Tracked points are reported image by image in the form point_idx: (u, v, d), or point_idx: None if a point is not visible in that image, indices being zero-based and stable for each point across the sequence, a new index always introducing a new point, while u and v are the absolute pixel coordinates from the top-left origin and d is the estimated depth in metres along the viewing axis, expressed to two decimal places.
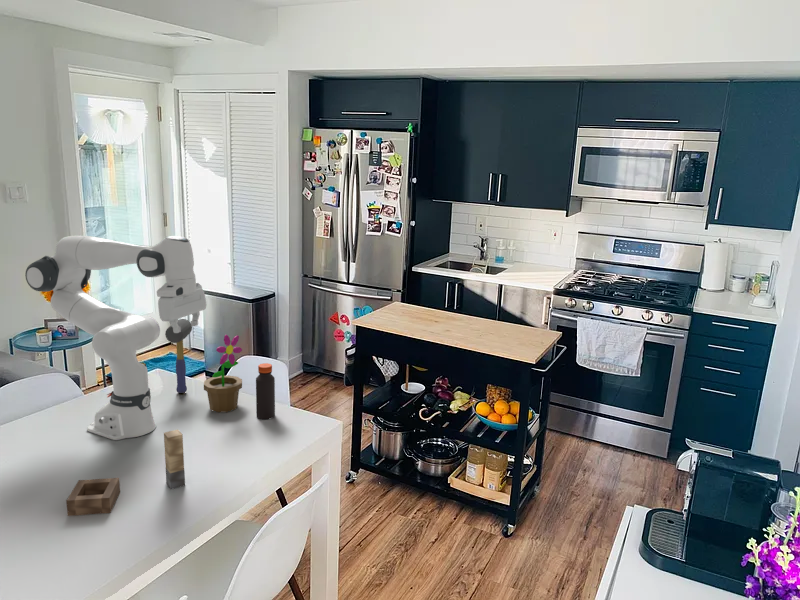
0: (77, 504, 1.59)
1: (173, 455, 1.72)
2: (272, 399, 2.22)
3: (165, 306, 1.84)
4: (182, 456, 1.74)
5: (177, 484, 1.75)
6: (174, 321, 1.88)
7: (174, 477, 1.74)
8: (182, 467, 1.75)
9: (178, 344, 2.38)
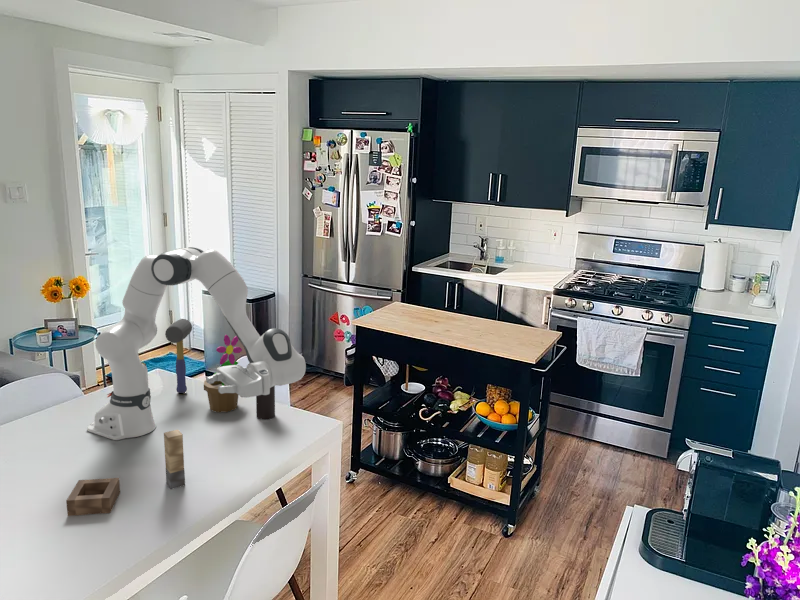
0: (77, 504, 1.59)
1: (173, 455, 1.72)
2: (272, 399, 2.22)
3: (257, 390, 1.76)
4: (182, 456, 1.74)
5: (177, 484, 1.75)
6: (234, 391, 1.75)
7: (174, 477, 1.74)
8: (182, 467, 1.75)
9: (178, 344, 2.38)
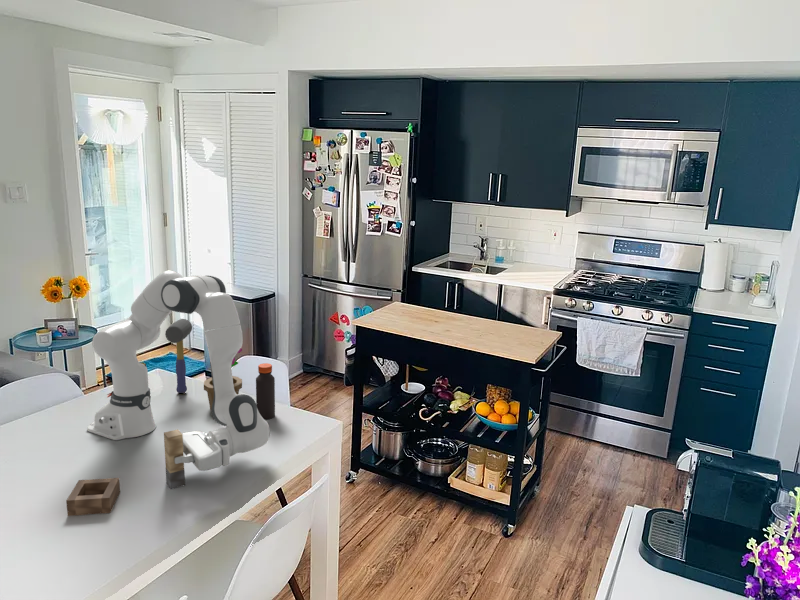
0: (77, 504, 1.59)
1: (173, 455, 1.72)
2: (272, 399, 2.22)
3: (215, 462, 1.72)
4: None
5: (177, 484, 1.75)
6: (190, 461, 1.73)
7: (174, 477, 1.74)
8: (182, 467, 1.75)
9: (178, 344, 2.38)
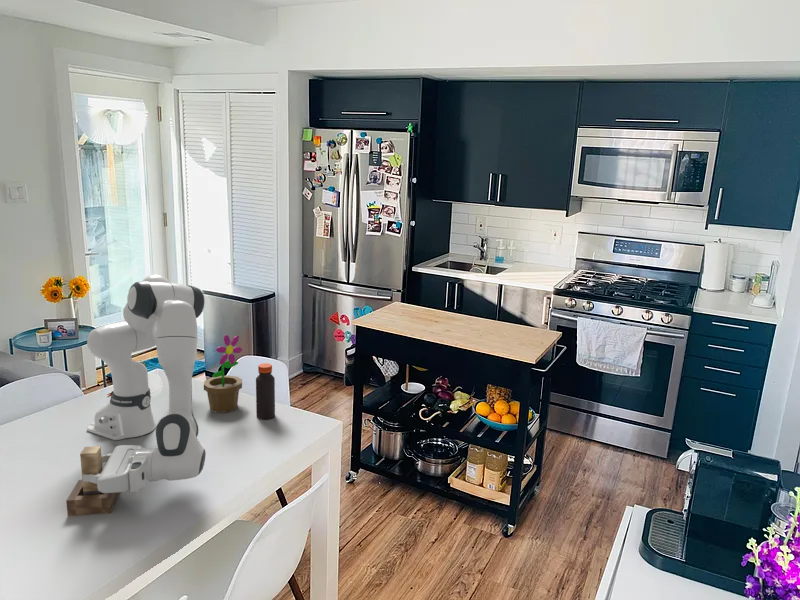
0: (77, 504, 1.59)
1: None
2: (272, 399, 2.22)
3: (117, 486, 1.55)
4: None
5: None
6: None
7: None
8: (97, 487, 1.62)
9: None
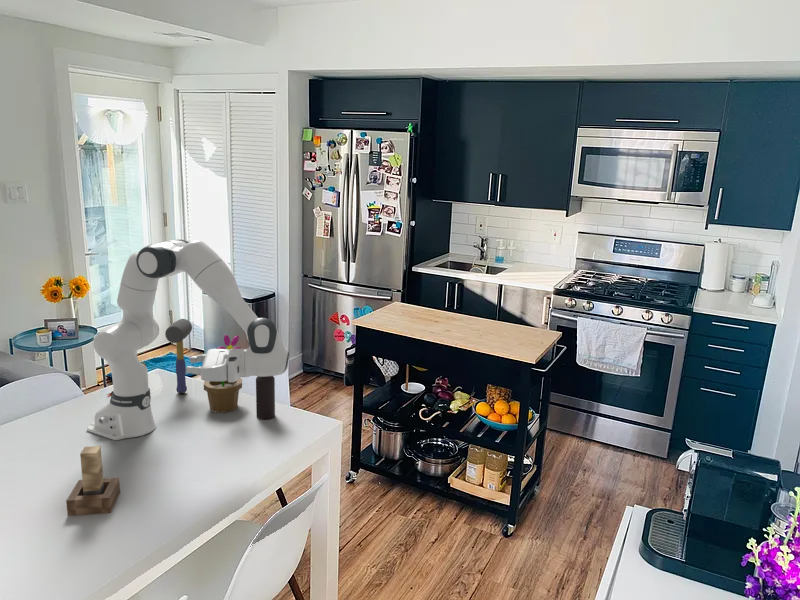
0: (77, 504, 1.59)
1: (86, 473, 1.61)
2: (272, 399, 2.22)
3: (217, 376, 1.76)
4: (97, 476, 1.62)
5: None
6: (199, 373, 1.78)
7: None
8: (97, 487, 1.62)
9: (178, 344, 2.38)
